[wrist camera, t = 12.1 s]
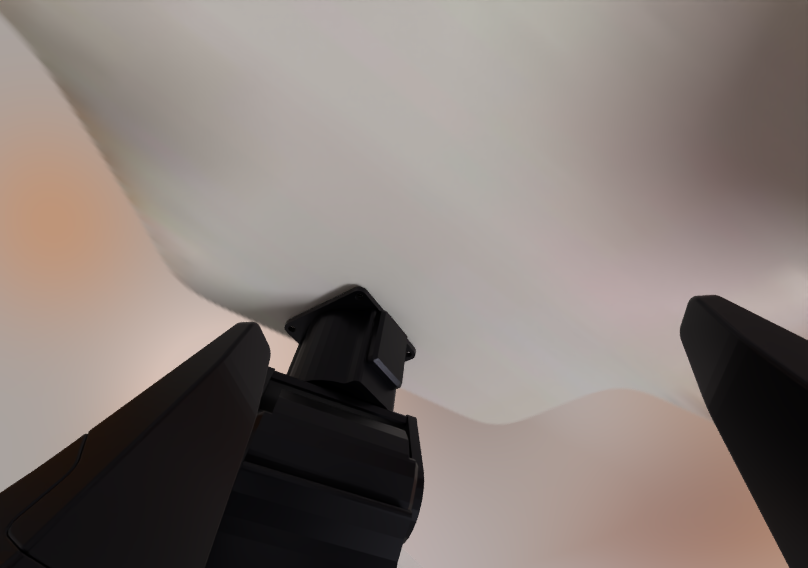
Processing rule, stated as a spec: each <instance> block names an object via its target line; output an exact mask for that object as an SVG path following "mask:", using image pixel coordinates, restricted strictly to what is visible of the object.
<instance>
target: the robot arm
mask: <svg viewBox="0 0 808 568" xmlns="http://www.w3.org/2000/svg"><path fill="white" fill-rule="evenodd" d="M357 294H361V295H362V296H361V297H360V296H358V295H357ZM291 326H293V327H295V328H293V327H291ZM284 328H285V330H286V332H287V333H288V334H289V335H290V336H291V337H292V338H293V339H294V340H295V341H297V342H298V343H299V345H298V348H297V350H296V353H295V355H294V357H293V360H292V362H291V365H290V367H289V370H288V372H287V374H283V373H280V372H277V371H275V369H274V368H271V367H268V365H269V361H270V354H271V353H270V348H269V345H268V343H267V341H266V338H265V336H264V334H263V333H262V330H261V328H260V326H259V325H258V324H257V323H256V322H241V323H237V324H236V325H234V326H233V327H232V328H230V329H229V330H227V331H226V332H225V333H223V334H222V335H221V336H219V337H218V338H216V339H215V340H214V341H212V342H211V343H210V344H208V345H207V346H205V347H204V348H203V349H201V350H200V351H199V352H197V353H196V354H194V355H193V356H192V357H190V358H189V359H188V360H186V361H185V362H183V363H182V364H181V365H179V366H178V367H176V368H175V369H174V370H173V371H171V372H170V373H168V374H167V375H166V376H164V377H163V378H162V379H160V380H159V381H157V382H156V383H154V384H153V385H152V386H150V387H149V388H148V389H146V390H145V391H143V392H142V393H141V394H139V395H138V396H137V397H135V398H134V399H133V400H131V401H130V402H128V403H127V404H126V405H124V406H123V407H121V408H120V409H119V410H117V411H116V412H115V413H113V414H112V415H110V416H109V417H108V418H106V419H105V420H103V421H102V422H101V423H99V424H98V425H97V426H95V427H94V428H92V429H91V430H90V431H89V433H88V434H84V435H83V436H81V437H80V438H79V439H77V440H76V441H75V442H73V443H72V444H70V445H69V446H68V447H66V448H65V449H64V450H62V451H61V452H59V453H58V454H56V455H55V456H54V457H52V458H51V459H49V460H48V461H47V462H45V463H44V464H42V465H41V466H39V467H38V468H37V469H35V470H34V471H32V472H31V473H29V474H28V475H26V476H25V477H23V478H22V479H20V480H19V481H17V482H16V483H14V484H13V485H11V486H10V487H8V488H7V489H5V490H4V491H2V492H1V493H0V568H397V563H398V559H399V556H400V552H401V548H402V545H403V544H404V543H405V542H406V540H407V539H408V538H409V536H410V534H411V532H412V531H413V528H414V526H415V523H416V521H417V518H418V515H419V511H420V507H421V502H422V497H423V489H424V470H423V463H422V456H421V449H420V441H419V433H418V427H417V419H416V417H412V416H410V415H406V416H405V415H402V414H399V413H396V412H393V409H394V401H395V393H396V389H398V388H400V387H401V385H402V379H403V371H404V362H406V361H408V360H411V359H413V358H414V357H415V353H416V349H415V347H414V346H413V345H412V344H411V343H410V341H409V340H408V339H407V335H406V334H405V333H404V332H403V330H402V329H401V328H400V327H399V326H398V324H397V323H396V322H395V321H394V320H393V318H392V317H391V316H390V315H389V314H388V312H386V311H385V310H383V309H382V308H381V306H380V305H379V304H378V303H377V302H376V300H375V299H374V298H373V297H372V296H371V294H370V293H369V292H368V291H367V290H366V289H365V288H363V287H356V288H353V289H351V290H349V291H347V292H345V293H343V294H341V295H339V296H337V297H335V298H333V299H331V300H329V301H327V302H325V303H322V304H320V305H318V306H316V307H314V308H312V309H310V310H308V311H306V312H304V313H302V314H300V315H298V316H296V317H294V318H292V319H289V320H288V321H287V322H286V324H285V327H284ZM680 338H681V341H682V344H683V346H684V349H685V352H686V354H687V357H688V360H689V362H690V365H691V368H692V370H693V373H694V376H695V378H696V381H697V384H698V386H699V389H700V392H701V394H702V397H703V399H704V402H705V404H706V407H707V409H708V411H709V413H710V415H711V417H712V419H713V421H714V423H715V425H716V427H717V429H718V431H719V433H720V435H721V436H722V439H723V441H724V443H725V444H726V446H727V448H728V450H729V452H730V454H731V456H732V458H733V460H734V462H735V464H736V466H737V468H738V470H739V471H740V473H741V475H742V477H743V479H744V481H745V483H746V485H747V487H748V489H749V491H750V493H751V494H752V496H753V498H754V500H755V502H756V504H757V506H758V508H759V510H760V512H761V514H762V516H763V517H764V520H765V522H766V524H767V525H768V527H769V529H770V531H771V533H772V535H773V537H774V539H775V541H776V542H777V545H778V547H779V549H780V550H781V552H782V554H783V556H784V558H785V560H786V562H787V564H788V566H789V568H808V340H806V339H804V338H802V337H800V336H798V335H796V334H794V333H792V332H790V331H788V330H786V329H784V328H782V327H780V326H778V325H776V324H774V323H772V322H770V321H768V320H766V319H764V318H762V317H760V316H758V315H756V314H754V313H752V312H750V311H748V310H746V309H744V308H742V307H740V306H738V305H736V304H734V303H732V302H730V301H728V300H726V299H724V298H722V297H720V296H718V295H702V296H694V297H692V298H691V299H690V300H689V302H688V305H687V308H686V311H685V314H684V317H683V320H682V323H681V326H680ZM407 352H410V353H407Z"/></svg>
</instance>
